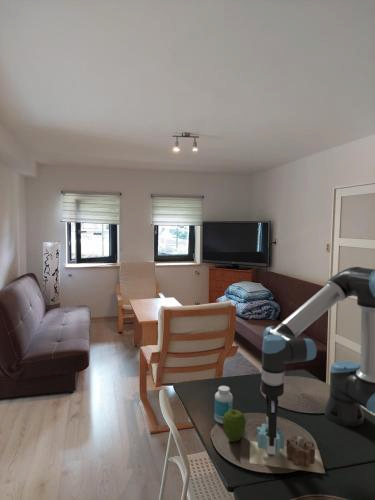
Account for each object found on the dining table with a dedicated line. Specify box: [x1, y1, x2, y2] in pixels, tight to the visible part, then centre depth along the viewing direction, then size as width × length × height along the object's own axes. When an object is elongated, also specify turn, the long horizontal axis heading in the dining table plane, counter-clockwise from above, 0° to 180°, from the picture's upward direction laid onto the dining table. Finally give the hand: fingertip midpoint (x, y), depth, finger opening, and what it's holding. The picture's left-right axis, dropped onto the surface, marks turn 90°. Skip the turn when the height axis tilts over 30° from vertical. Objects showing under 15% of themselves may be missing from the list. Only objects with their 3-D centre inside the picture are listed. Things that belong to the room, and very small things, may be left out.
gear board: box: [249, 435, 326, 474], centre depth 119 cm, size 24×12×8 cm, turn 79°
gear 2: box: [286, 435, 316, 467], centre depth 118 cm, size 9×9×5 cm
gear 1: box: [256, 422, 285, 453], centre depth 119 cm, size 9×9×5 cm
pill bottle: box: [214, 385, 234, 425], centre depth 143 cm, size 8×7×14 cm
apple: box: [222, 409, 247, 443], centre depth 129 cm, size 9×8×12 cm
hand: (270, 444), depth 120 cm, fingers closed on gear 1, 9 cm apart
